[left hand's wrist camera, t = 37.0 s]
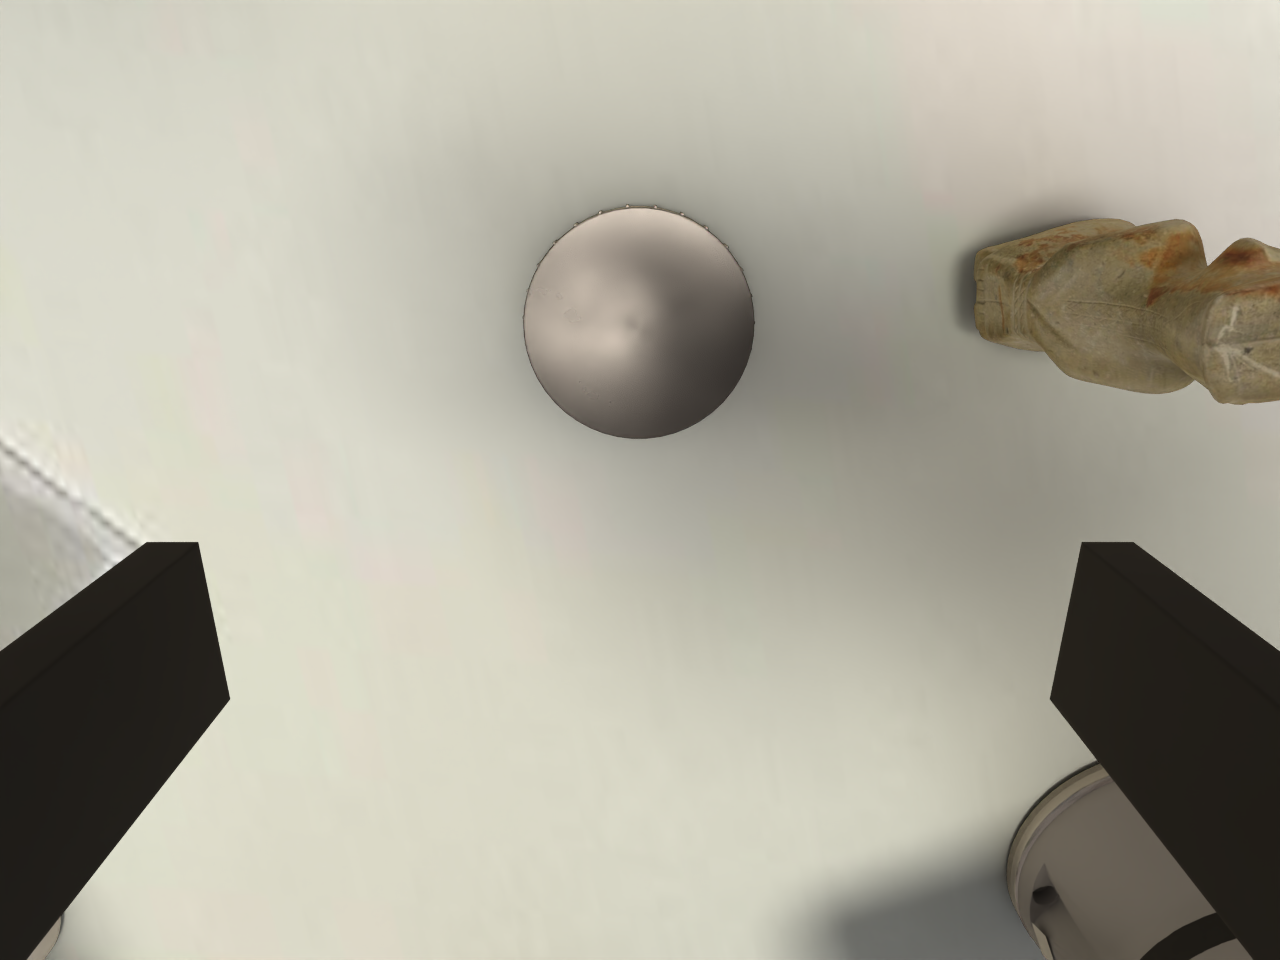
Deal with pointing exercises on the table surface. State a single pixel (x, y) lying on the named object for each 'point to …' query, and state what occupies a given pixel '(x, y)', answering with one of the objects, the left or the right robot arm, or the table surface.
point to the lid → (638, 322)
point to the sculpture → (1138, 307)
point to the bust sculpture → (46, 943)
